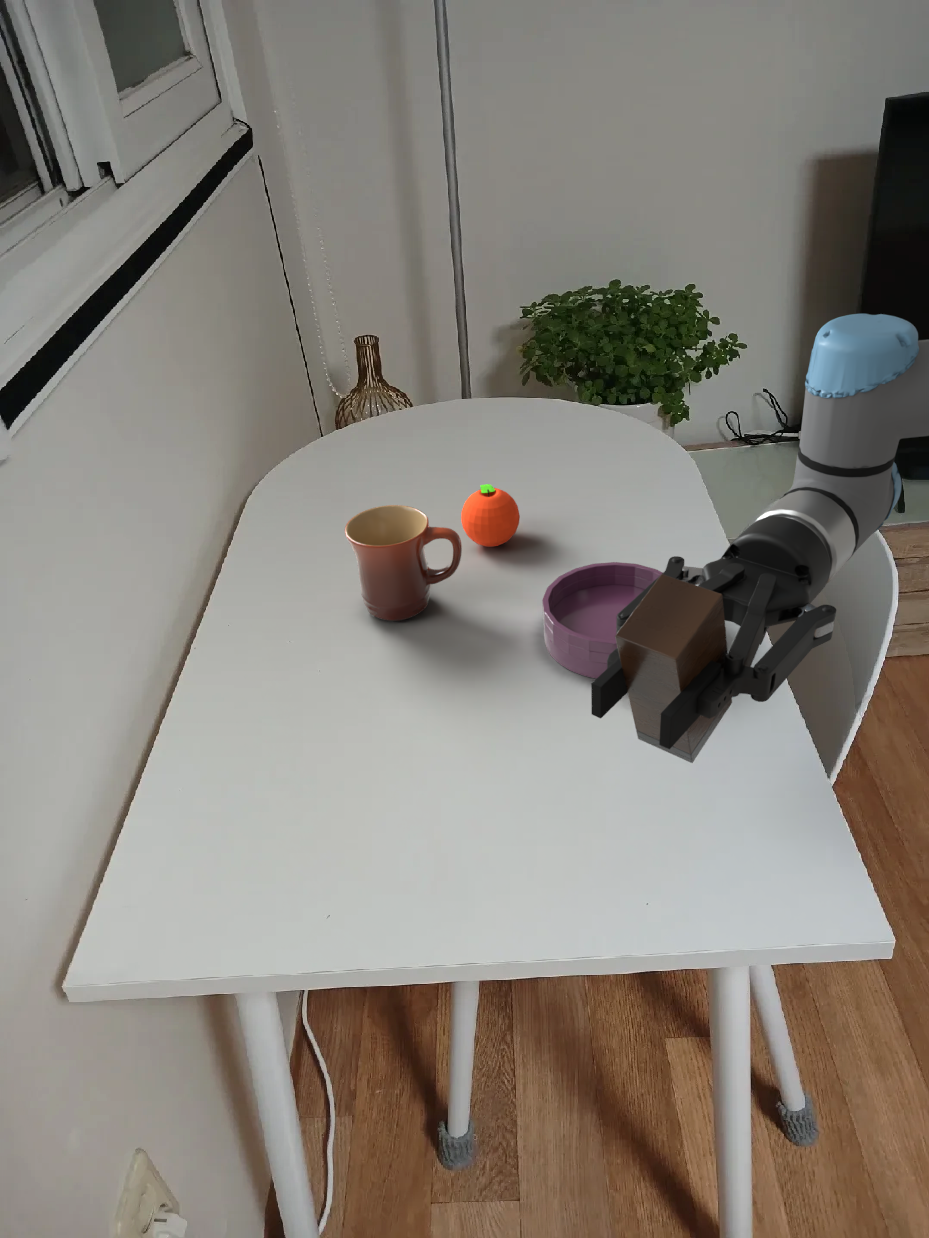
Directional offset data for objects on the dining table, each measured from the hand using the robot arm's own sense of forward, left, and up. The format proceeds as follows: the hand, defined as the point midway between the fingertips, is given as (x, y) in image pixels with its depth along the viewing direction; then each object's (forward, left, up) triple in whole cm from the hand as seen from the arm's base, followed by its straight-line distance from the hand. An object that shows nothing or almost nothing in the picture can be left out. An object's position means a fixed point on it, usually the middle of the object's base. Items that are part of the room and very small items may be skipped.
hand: (630, 715), depth 62 cm
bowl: (+23, -21, -17) cm, 36 cm away
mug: (+42, -9, -17) cm, 46 cm away
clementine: (+47, -24, -17) cm, 56 cm away
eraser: (+2, -8, -6) cm, 10 cm away
